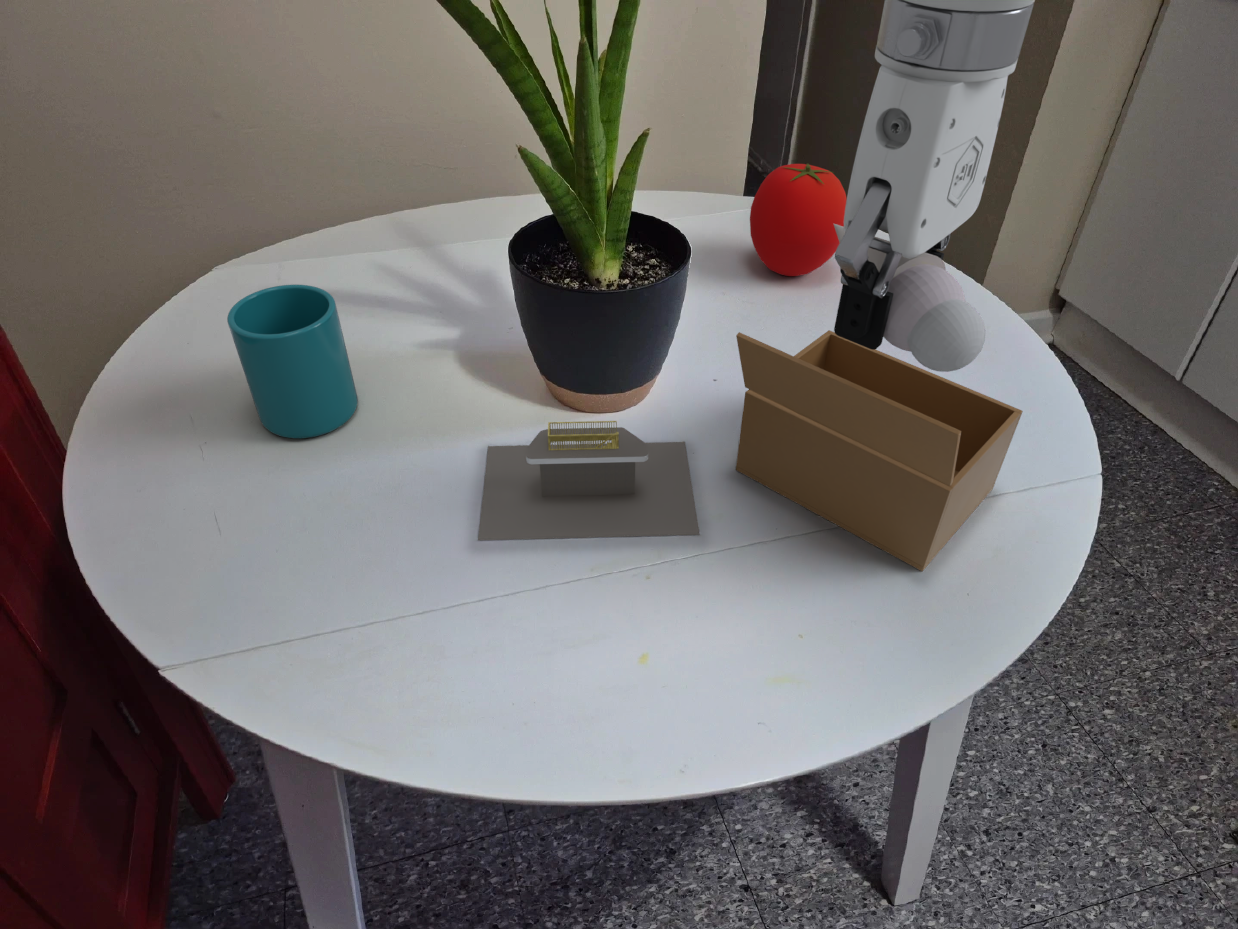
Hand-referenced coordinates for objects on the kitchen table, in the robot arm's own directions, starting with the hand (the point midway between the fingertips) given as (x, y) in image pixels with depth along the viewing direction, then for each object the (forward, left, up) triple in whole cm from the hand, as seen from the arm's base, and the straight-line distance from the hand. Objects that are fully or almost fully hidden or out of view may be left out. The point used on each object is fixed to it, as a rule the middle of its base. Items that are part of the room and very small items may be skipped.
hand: (883, 317), depth 59 cm
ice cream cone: (0, 0, -1) cm, 1 cm away
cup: (+46, +19, -20) cm, 54 cm away
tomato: (+27, -35, -20) cm, 48 cm away
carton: (+1, -7, -20) cm, 21 cm away
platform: (+18, +10, -20) cm, 29 cm away
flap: (+1, +1, -8) cm, 8 cm away
